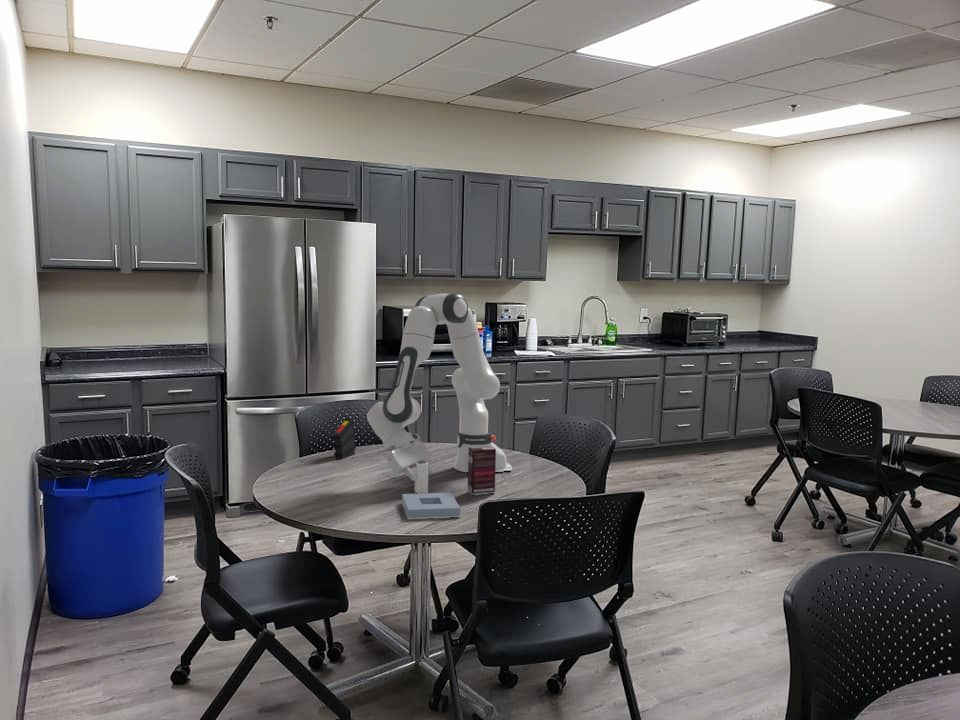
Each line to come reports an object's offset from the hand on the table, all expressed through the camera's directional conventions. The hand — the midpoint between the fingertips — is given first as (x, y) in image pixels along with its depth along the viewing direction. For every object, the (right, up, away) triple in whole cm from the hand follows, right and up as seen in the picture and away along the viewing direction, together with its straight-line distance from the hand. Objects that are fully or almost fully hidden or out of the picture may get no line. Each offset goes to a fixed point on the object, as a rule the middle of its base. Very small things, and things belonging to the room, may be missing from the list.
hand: (422, 476), depth 244 cm
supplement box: (+20, -6, +2) cm, 21 cm away
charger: (-1, -5, +1) cm, 6 cm away
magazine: (-35, 0, +44) cm, 56 cm away
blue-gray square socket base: (+4, -8, -18) cm, 20 cm away
